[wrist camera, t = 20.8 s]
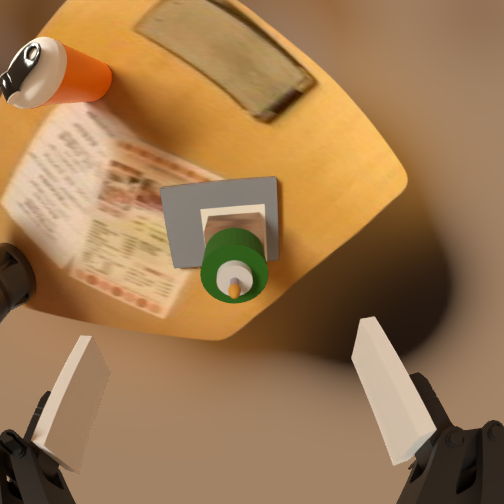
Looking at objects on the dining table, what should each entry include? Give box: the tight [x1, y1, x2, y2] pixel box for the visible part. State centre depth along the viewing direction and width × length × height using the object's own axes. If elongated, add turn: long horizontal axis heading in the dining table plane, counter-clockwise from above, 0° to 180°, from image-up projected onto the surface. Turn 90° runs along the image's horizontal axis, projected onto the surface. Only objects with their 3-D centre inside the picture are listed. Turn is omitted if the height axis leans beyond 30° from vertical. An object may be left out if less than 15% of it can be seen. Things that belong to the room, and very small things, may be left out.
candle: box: [201, 228, 268, 303], centre depth 35 cm, size 8×8×10 cm
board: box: [160, 176, 279, 268], centre depth 46 cm, size 18×14×2 cm
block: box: [204, 212, 265, 254], centre depth 43 cm, size 8×8×7 cm
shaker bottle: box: [0, 37, 112, 109], centre depth 25 cm, size 9×9×20 cm
